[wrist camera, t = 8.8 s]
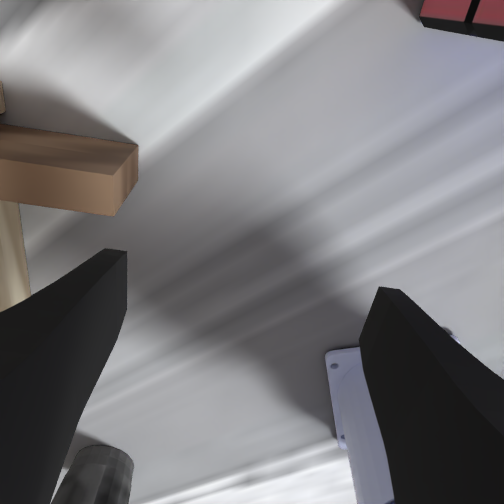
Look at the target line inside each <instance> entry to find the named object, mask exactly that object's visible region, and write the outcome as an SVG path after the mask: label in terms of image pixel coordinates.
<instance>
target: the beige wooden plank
mask: <svg viewBox="0 0 504 504" xmlns="http://www.w3.org/2000/svg"><path fill="white" fill-rule="evenodd" d="M3 112H6V109H5V102H4V95H3V87H2V81H0V114H1V113H3ZM30 296H31V293H30V285H29V278H28V271H27V263H26V256H25V249H24V241H23V234H22V227H21V219H20V212H19V205H18V203H16V202H9V201H2V200H0V312H2V311H4V310H6V309H8V308H10V307H12V306H14V305H16V304H17V303H19V302H21V301H23V300H25V299H26V298H28V297H30Z"/></svg>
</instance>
